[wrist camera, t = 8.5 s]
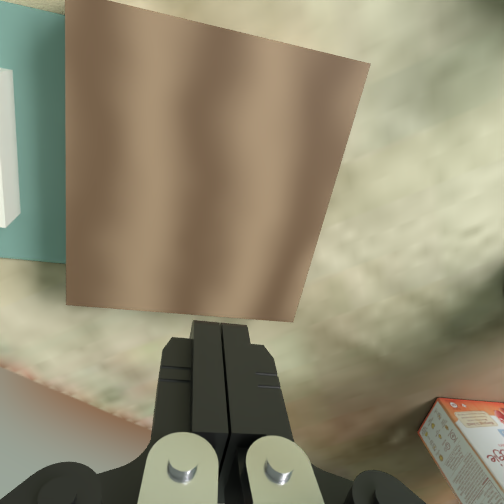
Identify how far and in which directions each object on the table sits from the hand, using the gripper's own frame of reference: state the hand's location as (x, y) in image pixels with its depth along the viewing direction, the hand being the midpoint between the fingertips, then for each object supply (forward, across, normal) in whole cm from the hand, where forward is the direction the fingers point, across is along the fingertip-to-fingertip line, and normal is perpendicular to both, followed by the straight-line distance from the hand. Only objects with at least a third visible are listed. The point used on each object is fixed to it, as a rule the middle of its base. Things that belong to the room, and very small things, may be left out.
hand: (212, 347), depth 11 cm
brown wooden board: (+18, 0, 0) cm, 19 cm away
